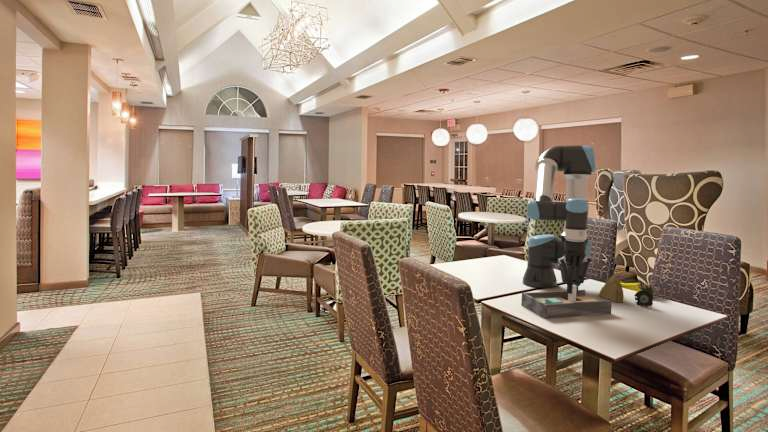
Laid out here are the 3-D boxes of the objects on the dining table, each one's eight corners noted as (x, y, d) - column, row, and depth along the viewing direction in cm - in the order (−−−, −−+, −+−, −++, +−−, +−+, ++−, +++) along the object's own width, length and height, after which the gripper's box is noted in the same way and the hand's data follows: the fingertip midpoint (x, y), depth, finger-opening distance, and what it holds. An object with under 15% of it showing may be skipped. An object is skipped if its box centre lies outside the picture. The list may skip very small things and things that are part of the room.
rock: (632, 298, 181) (626, 289, 191) (619, 281, 181) (614, 273, 190) (607, 311, 185) (603, 301, 195) (594, 294, 185) (591, 285, 194)
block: (554, 310, 171) (544, 311, 170) (554, 297, 170) (545, 298, 170) (562, 314, 166) (552, 315, 165) (562, 301, 166) (553, 302, 165)
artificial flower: (629, 308, 181) (624, 283, 183) (644, 303, 198) (639, 280, 199) (654, 306, 175) (648, 281, 177) (667, 301, 192) (662, 278, 193)
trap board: (521, 305, 178) (521, 293, 178) (583, 301, 184) (584, 289, 184) (544, 318, 163) (544, 305, 162) (611, 313, 169) (611, 300, 168)
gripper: (565, 242, 162) (562, 305, 165) (597, 241, 165) (593, 303, 167) (553, 238, 170) (550, 299, 172) (584, 238, 172) (580, 298, 175)
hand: (571, 301), depth 170 cm, fingers closed
